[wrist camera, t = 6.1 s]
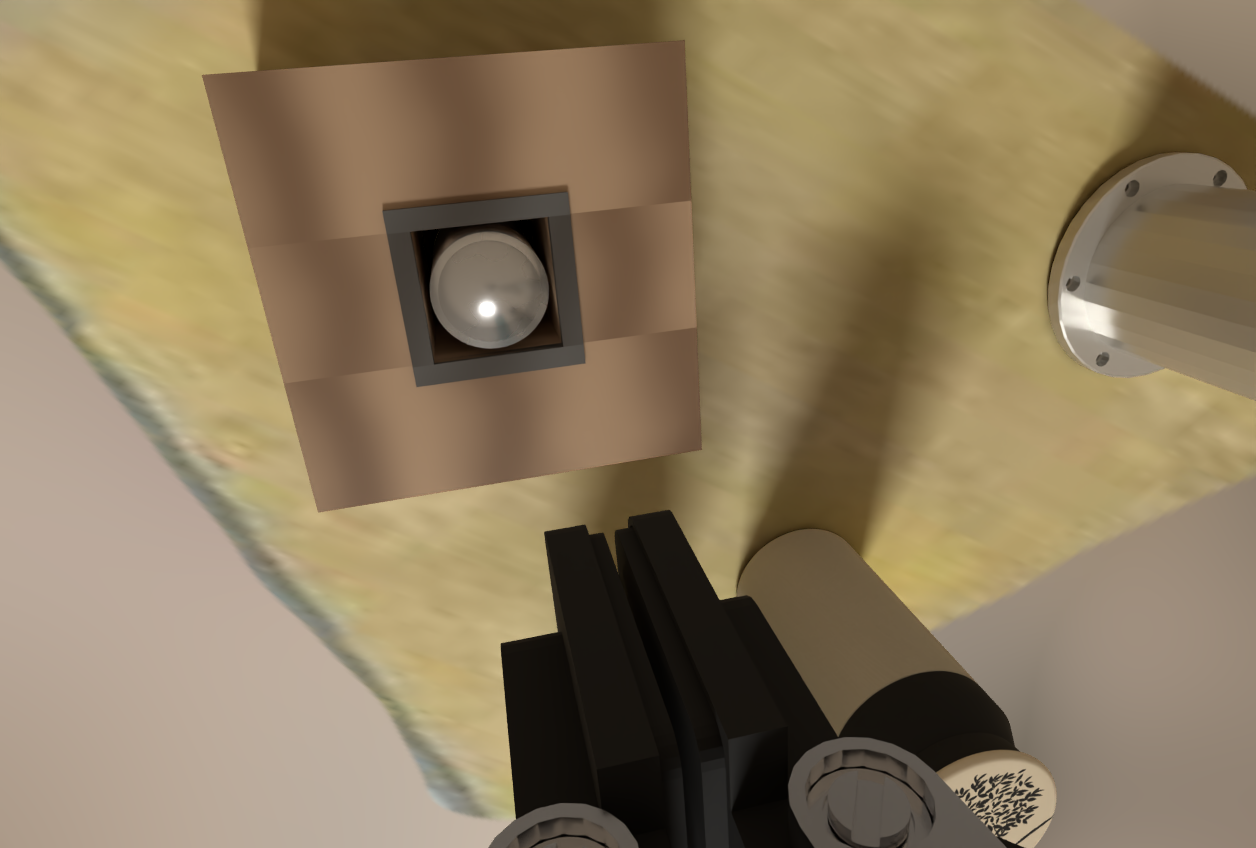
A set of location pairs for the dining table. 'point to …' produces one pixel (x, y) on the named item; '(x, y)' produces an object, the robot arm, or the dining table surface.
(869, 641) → the travel mug
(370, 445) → the block
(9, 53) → the dining table surface
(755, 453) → the dining table surface
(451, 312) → the steel dowel
